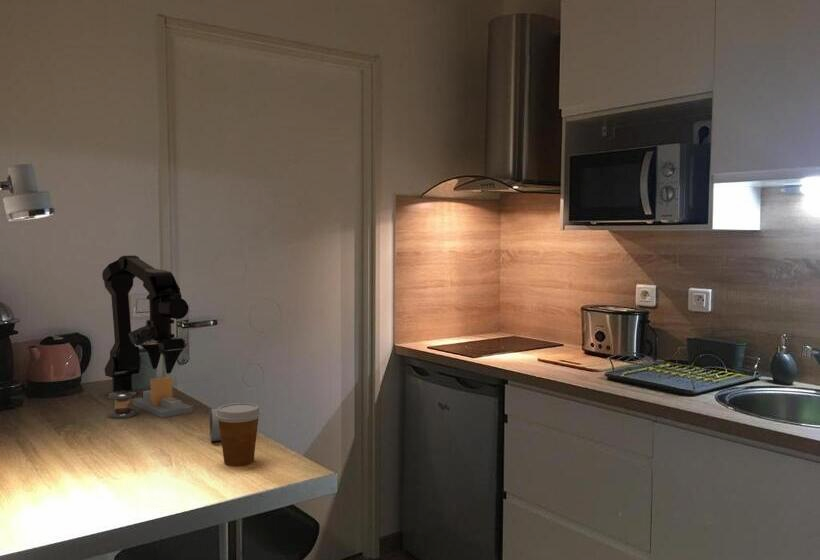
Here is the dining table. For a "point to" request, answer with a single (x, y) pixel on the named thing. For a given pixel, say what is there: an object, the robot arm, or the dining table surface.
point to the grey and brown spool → (122, 404)
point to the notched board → (162, 406)
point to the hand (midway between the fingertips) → (161, 371)
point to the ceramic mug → (214, 426)
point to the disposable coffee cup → (238, 432)
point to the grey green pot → (144, 372)
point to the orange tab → (160, 389)
